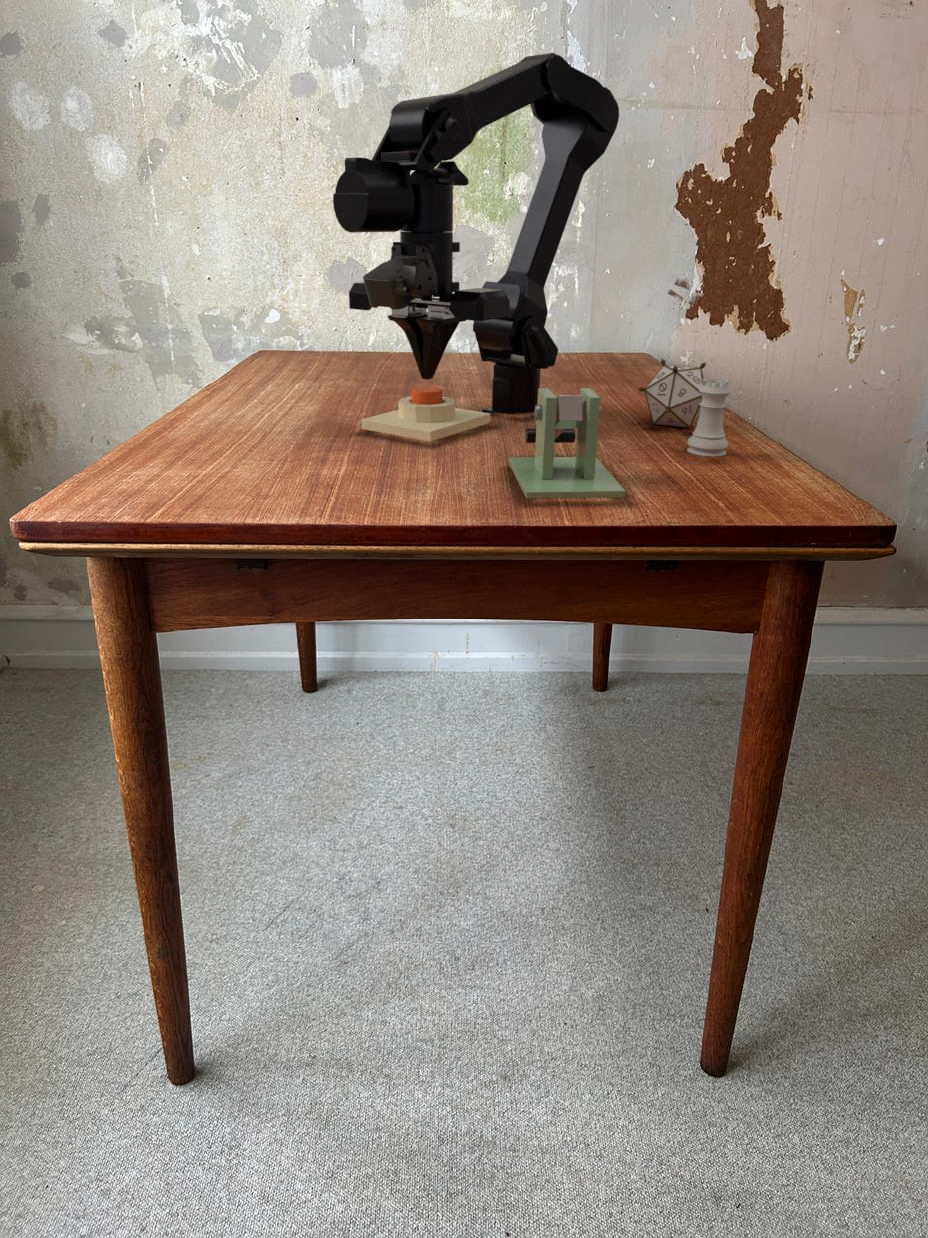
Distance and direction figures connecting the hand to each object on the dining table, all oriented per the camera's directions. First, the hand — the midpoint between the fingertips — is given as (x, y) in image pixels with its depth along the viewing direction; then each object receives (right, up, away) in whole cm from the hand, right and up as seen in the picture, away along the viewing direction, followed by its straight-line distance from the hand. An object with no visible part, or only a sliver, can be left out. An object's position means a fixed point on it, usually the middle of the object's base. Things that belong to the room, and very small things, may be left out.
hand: (427, 378), depth 103 cm
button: (0, -3, +1) cm, 3 cm away
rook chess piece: (+30, -10, -7) cm, 33 cm away
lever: (+14, -10, -16) cm, 23 cm away
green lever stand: (+14, -15, -17) cm, 27 cm away
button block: (0, -5, +3) cm, 6 cm away
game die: (+30, -5, +5) cm, 30 cm away
